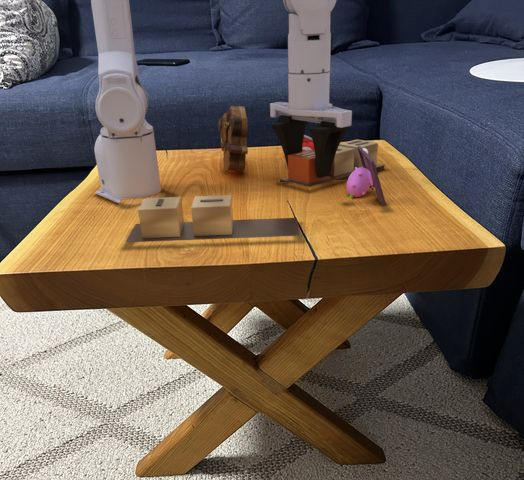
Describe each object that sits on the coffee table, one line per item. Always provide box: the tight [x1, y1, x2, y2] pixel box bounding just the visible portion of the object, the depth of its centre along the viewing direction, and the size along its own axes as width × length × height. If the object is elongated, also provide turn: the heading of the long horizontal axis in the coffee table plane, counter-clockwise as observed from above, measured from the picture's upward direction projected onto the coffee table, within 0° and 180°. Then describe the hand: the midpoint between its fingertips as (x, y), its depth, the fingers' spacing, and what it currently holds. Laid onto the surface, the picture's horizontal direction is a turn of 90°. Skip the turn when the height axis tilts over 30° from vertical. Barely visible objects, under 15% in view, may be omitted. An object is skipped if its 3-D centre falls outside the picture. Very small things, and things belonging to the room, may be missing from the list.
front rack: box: [125, 194, 301, 243], centre depth 65 cm, size 20×6×4 cm, turn 91°
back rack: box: [279, 139, 385, 188], centre depth 86 cm, size 17×6×4 cm, turn 131°
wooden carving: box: [217, 105, 249, 174], centre depth 91 cm, size 16×5×10 cm, turn 13°
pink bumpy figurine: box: [345, 146, 387, 207], centre depth 74 cm, size 7×5×9 cm
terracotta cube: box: [287, 150, 329, 183], centre depth 83 cm, size 4×4×4 cm
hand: (308, 172), depth 84 cm, fingers open, 6 cm apart
